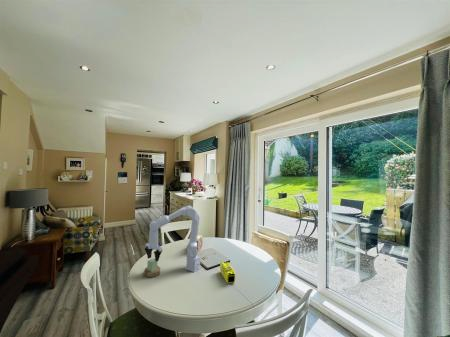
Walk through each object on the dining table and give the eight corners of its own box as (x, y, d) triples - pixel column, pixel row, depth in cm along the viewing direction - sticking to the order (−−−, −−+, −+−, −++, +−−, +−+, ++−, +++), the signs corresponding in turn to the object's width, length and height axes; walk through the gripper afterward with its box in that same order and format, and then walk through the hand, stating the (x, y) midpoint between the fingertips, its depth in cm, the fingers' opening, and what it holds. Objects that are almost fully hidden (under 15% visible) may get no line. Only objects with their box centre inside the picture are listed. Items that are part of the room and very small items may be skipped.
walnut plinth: (163, 272, 136) (163, 268, 136) (150, 279, 127) (151, 274, 127) (153, 268, 141) (153, 264, 141) (140, 274, 133) (141, 270, 133)
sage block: (157, 268, 135) (157, 259, 135) (151, 271, 131) (152, 262, 131) (152, 267, 137) (153, 258, 137) (147, 269, 134) (147, 260, 134)
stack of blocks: (195, 244, 187) (196, 231, 187) (202, 245, 187) (202, 231, 187) (190, 254, 166) (190, 239, 166) (198, 255, 165) (198, 240, 165)
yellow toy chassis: (219, 272, 139) (219, 260, 139) (227, 271, 141) (227, 259, 141) (226, 285, 124) (227, 271, 124) (235, 283, 126) (235, 270, 126)
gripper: (141, 238, 135) (141, 258, 135) (156, 243, 127) (155, 264, 127) (150, 235, 141) (149, 255, 141) (164, 240, 133) (164, 260, 133)
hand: (153, 259), depth 135 cm, fingers open, 7 cm apart
